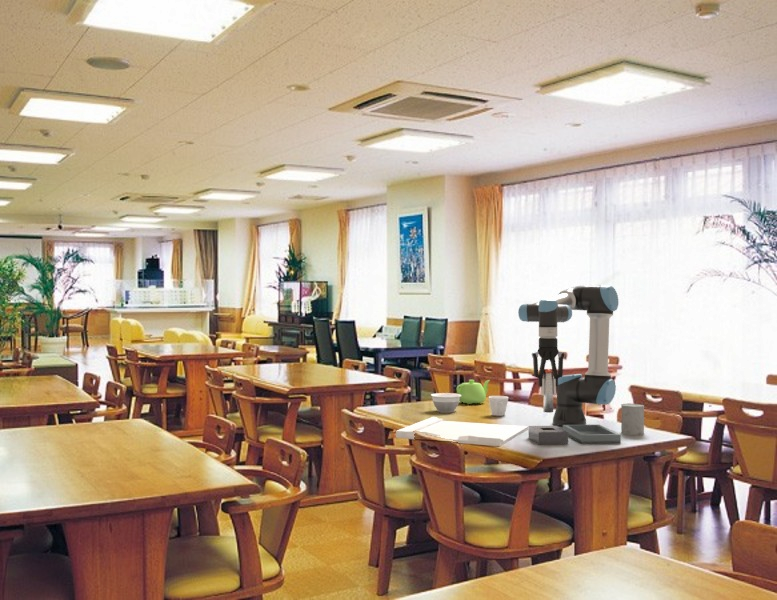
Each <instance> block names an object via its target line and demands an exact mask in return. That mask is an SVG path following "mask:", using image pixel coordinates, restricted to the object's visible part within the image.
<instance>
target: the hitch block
mask: <svg viewBox="0 0 777 600" xmlns="http://www.w3.org/2000/svg"><path fill="white" fill-rule="evenodd" d="M528 439H530V440H531V441H532V442H533V443H535V444H537V445H538V446H550V445H551V446H554V445H555V446H557V445H558V446H560V445H569V436H568V432H567V431H565V430H564V429H563V427H560V426H559V425H528Z"/></svg>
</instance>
